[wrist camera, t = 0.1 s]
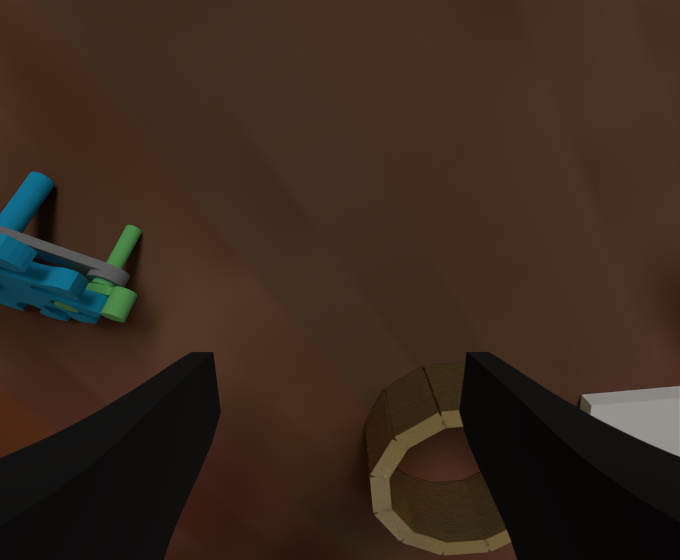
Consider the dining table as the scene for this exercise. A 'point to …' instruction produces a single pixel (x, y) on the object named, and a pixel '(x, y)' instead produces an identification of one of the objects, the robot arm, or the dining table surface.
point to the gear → (56, 282)
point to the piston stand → (640, 414)
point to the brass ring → (417, 495)
